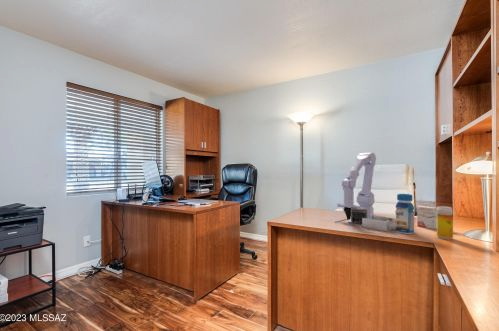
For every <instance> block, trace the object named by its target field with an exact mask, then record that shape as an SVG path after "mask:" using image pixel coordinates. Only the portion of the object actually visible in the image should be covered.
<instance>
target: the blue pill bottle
mask: <svg viewBox="0 0 499 331" xmlns="http://www.w3.org/2000/svg"><path fill="white" fill-rule="evenodd" d="M396 200H397V203H396V204H395V208H396V209H395V211H394V212H395V213H394V214H395V218H396V228H395V232H397V233H399V234H403V235H413V234H414V233H415V211H414V210H415V206H414V204H413V203H412V201H413V195H412V194H409V193H397V195H396Z"/></svg>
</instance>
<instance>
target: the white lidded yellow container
mask: <svg viewBox="0 0 499 331" xmlns="http://www.w3.org/2000/svg"><path fill="white" fill-rule="evenodd" d="M453 215H454V210H453V208H452V206H445V205H441V206H440V205H439V206H436V237H438V239H440V240H447V241H448V240H452V239H454V216H453Z"/></svg>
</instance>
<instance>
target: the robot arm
mask: <svg viewBox="0 0 499 331" xmlns="http://www.w3.org/2000/svg"><path fill="white" fill-rule="evenodd" d="M356 160H357V161H356V162H355V165H354V167H353V169H351V170H349V172H348V174H347V175H346V176H347V177H346V178H345V179H343V180H342V182H341V186H342V190H343V203H337V204H336V206H337V207H338V208H343V209H342V210H343V211H344V213H345V216H346V219H347V220H348V221H351V208H357V209H358V210H360V209H361V208H362V209H367V210H368V211H367V219H372V215H374V213H375V212H374V210H375V209H374V207H373V205H374V204H375V200H376V199H375V193H373V192H372V183H373V175H374V171H375V170H374V169H375V166H376V160H377V157H376V154H375V152H360V153H358V155H357V156H356ZM363 167H364V173H363V180H362V188H361V191H358V195H357V196H356V202H357V204H358V205H356V204H354V199H355V198H354V189H355V188H356V184H357V180H358V179H359V176H360V171H361V170H362V168H363ZM347 220H346V221H347Z"/></svg>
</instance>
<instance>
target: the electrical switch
mask: <svg viewBox="0 0 499 331" xmlns="http://www.w3.org/2000/svg"><path fill="white" fill-rule="evenodd" d="M367 211H368V210H367V209H362V208H361V209H360V210H358V209H357V208H351V218H350V222H351V223H352V224H360V225H362V218H367Z"/></svg>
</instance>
